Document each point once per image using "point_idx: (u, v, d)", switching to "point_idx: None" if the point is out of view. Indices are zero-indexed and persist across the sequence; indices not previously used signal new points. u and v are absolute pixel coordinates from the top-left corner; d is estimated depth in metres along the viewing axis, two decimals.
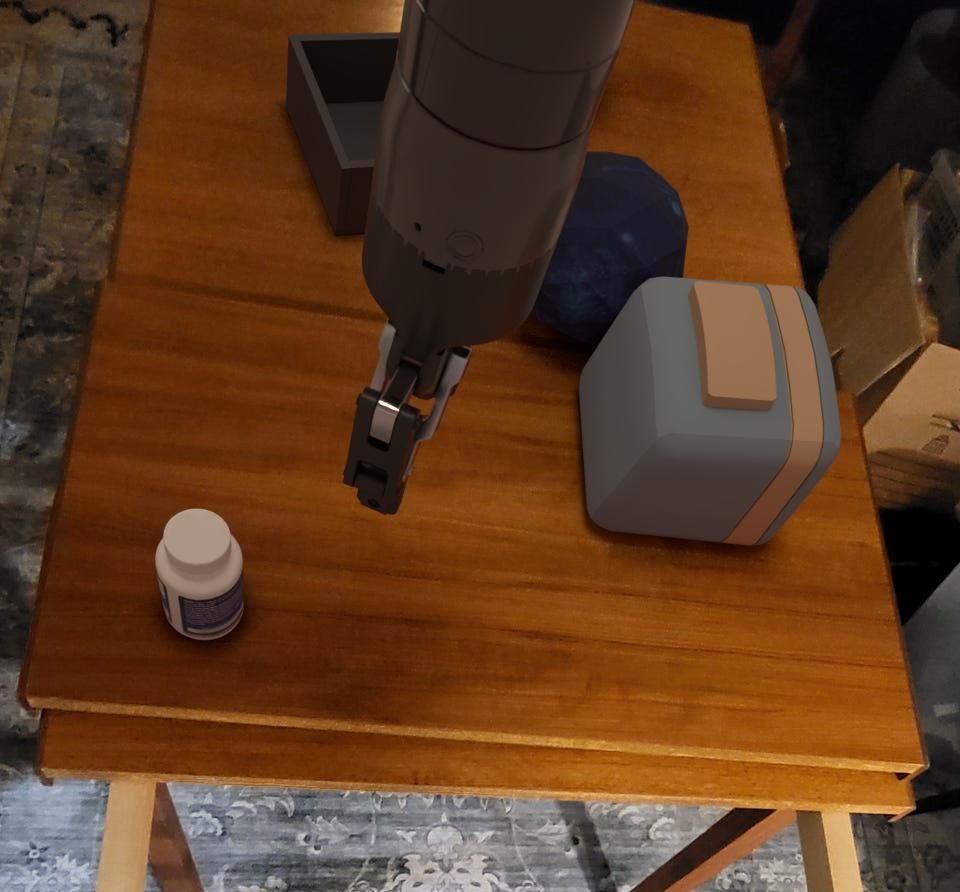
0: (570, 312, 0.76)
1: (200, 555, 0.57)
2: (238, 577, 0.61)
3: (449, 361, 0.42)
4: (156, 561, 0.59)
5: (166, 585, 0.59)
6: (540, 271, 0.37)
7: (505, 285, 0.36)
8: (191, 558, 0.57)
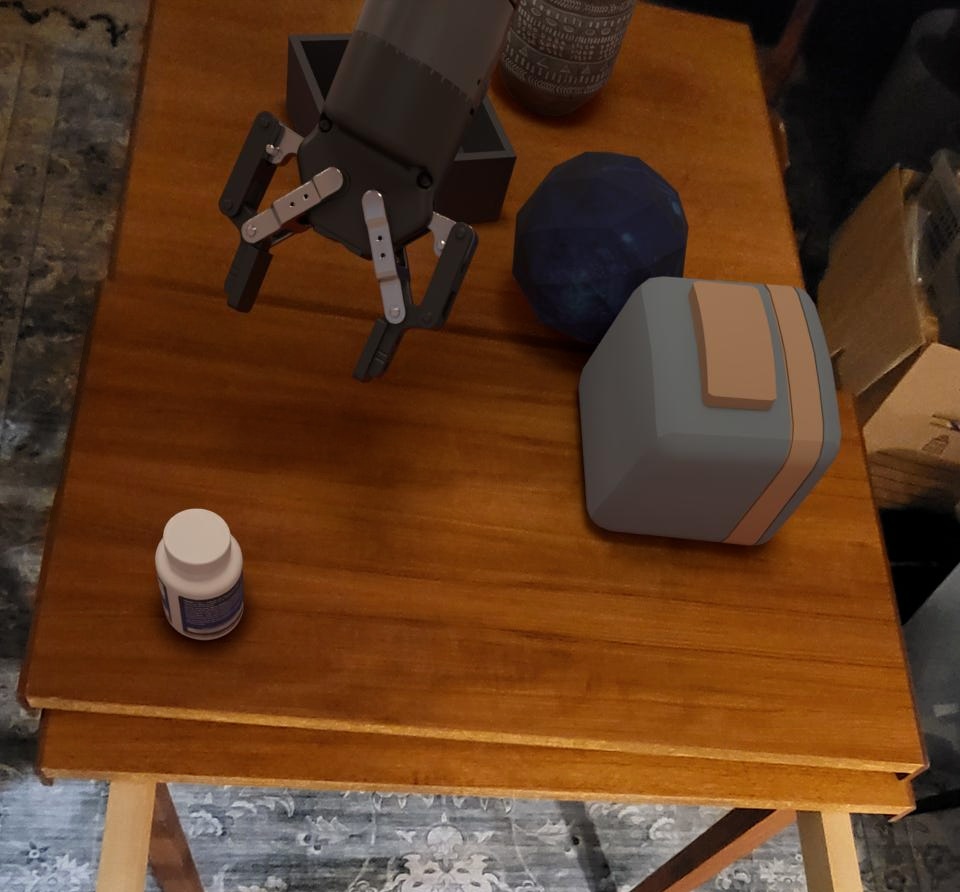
0: (570, 312, 0.76)
1: (200, 555, 0.57)
2: (238, 577, 0.61)
3: None
4: (156, 561, 0.59)
5: (166, 585, 0.59)
6: None
7: None
8: (191, 558, 0.57)
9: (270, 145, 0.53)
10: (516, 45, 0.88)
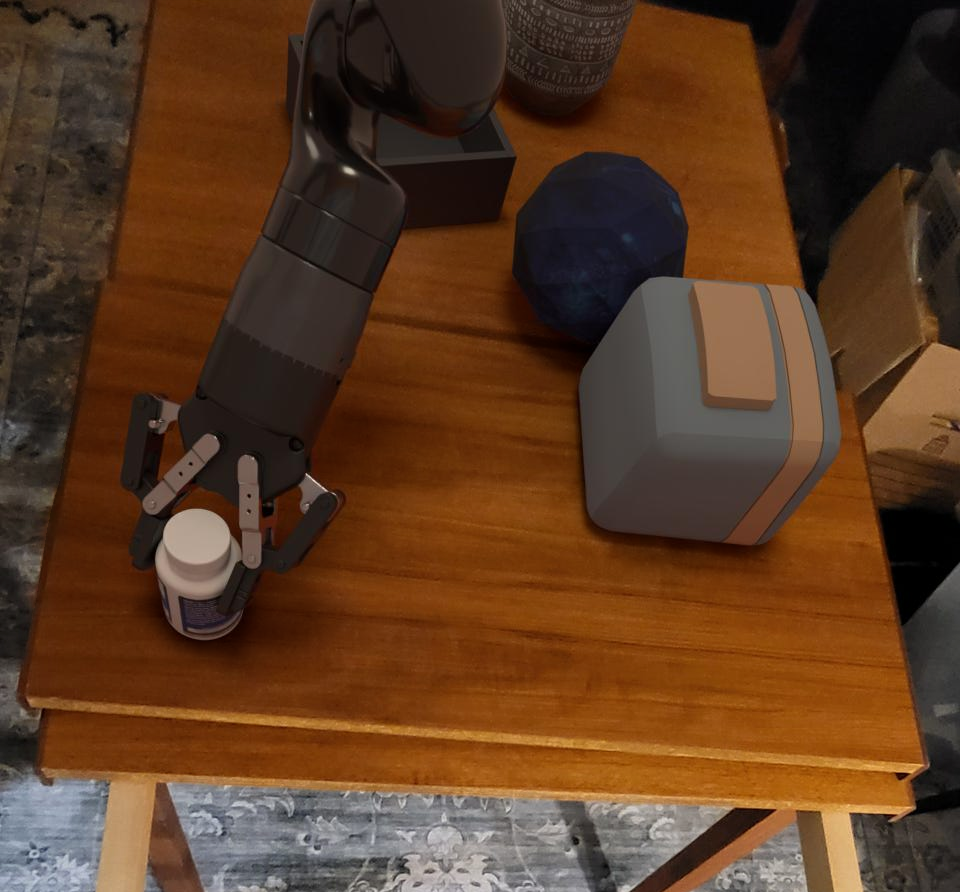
0: (570, 312, 0.76)
1: (200, 555, 0.57)
2: None
3: None
4: (156, 561, 0.59)
5: (166, 585, 0.59)
6: None
7: None
8: (191, 558, 0.57)
9: (152, 421, 0.56)
10: (516, 45, 0.88)
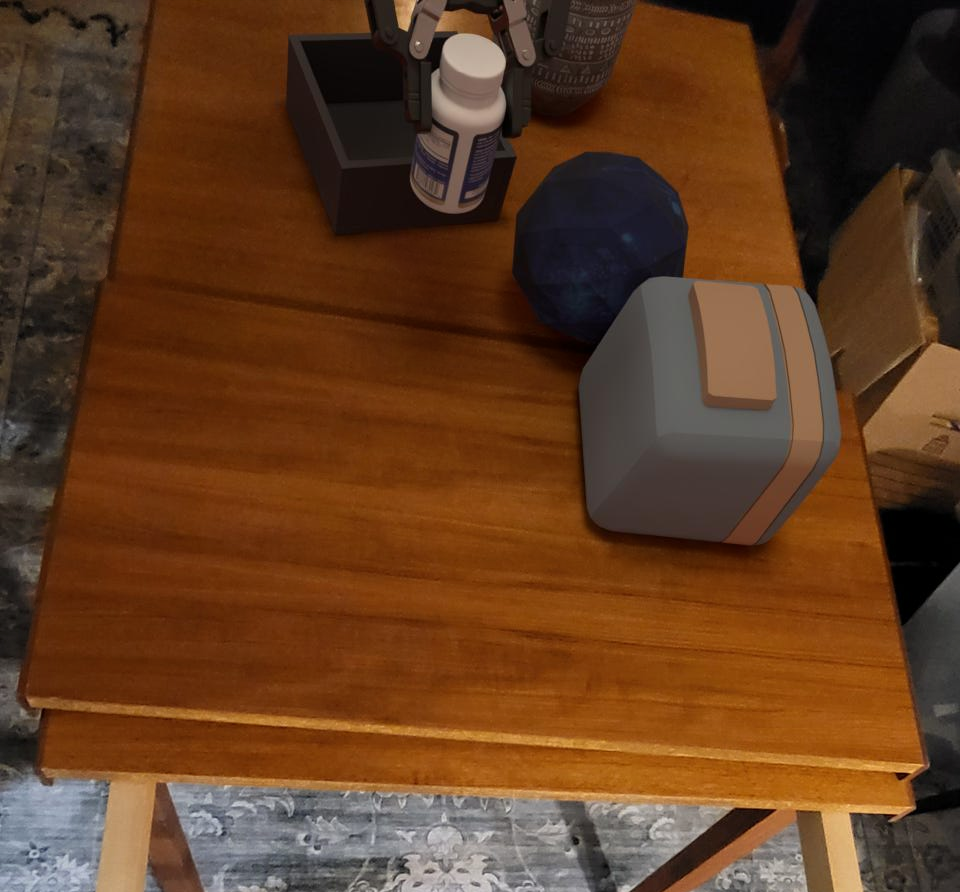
0: (570, 312, 0.76)
1: (492, 67, 0.58)
2: None
3: None
4: (440, 112, 0.60)
5: (461, 130, 0.60)
6: None
7: None
8: (488, 72, 0.58)
9: None
10: None
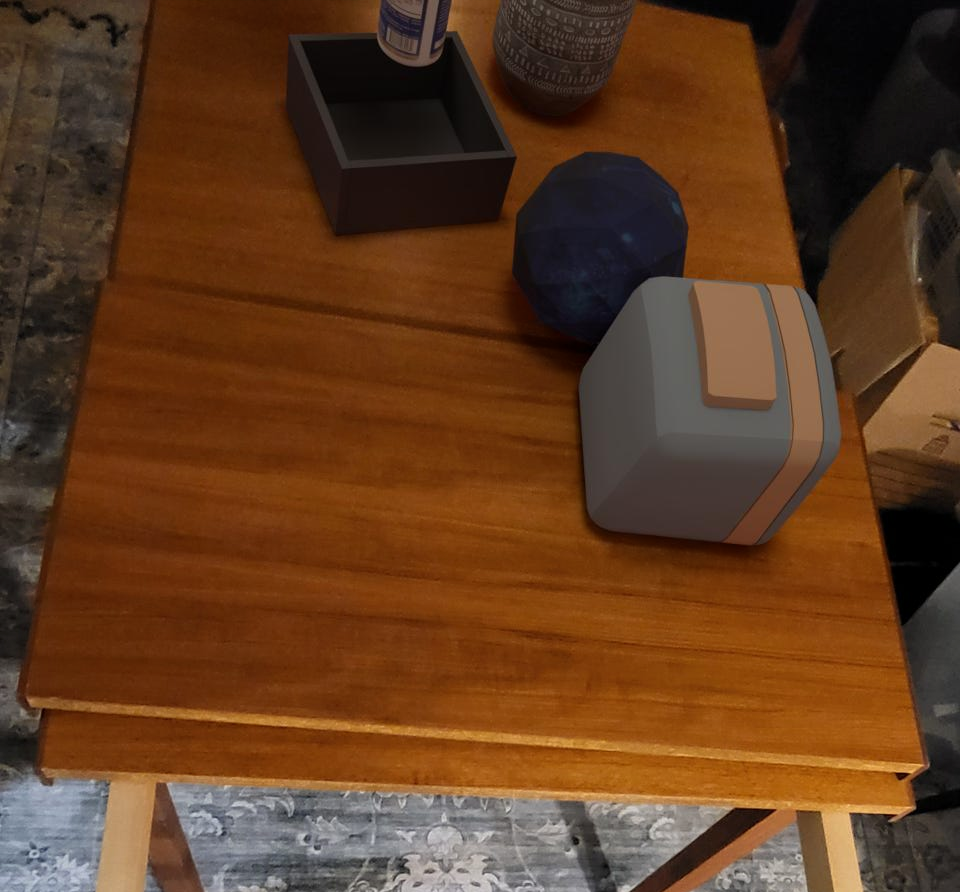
0: (570, 312, 0.76)
1: None
2: None
3: None
4: None
5: None
6: None
7: None
8: None
9: None
10: (516, 45, 0.88)
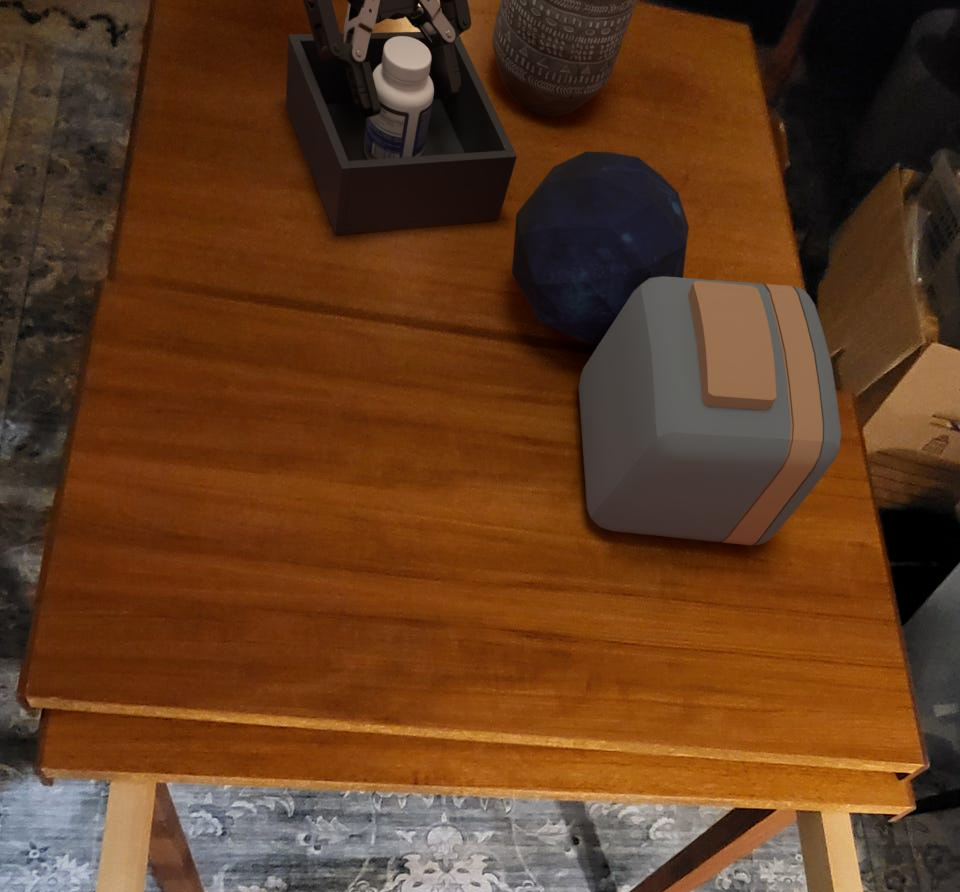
0: (570, 312, 0.76)
1: (424, 58, 0.78)
2: None
3: None
4: (393, 100, 0.79)
5: (410, 110, 0.80)
6: None
7: None
8: (423, 62, 0.78)
9: None
10: (516, 45, 0.88)
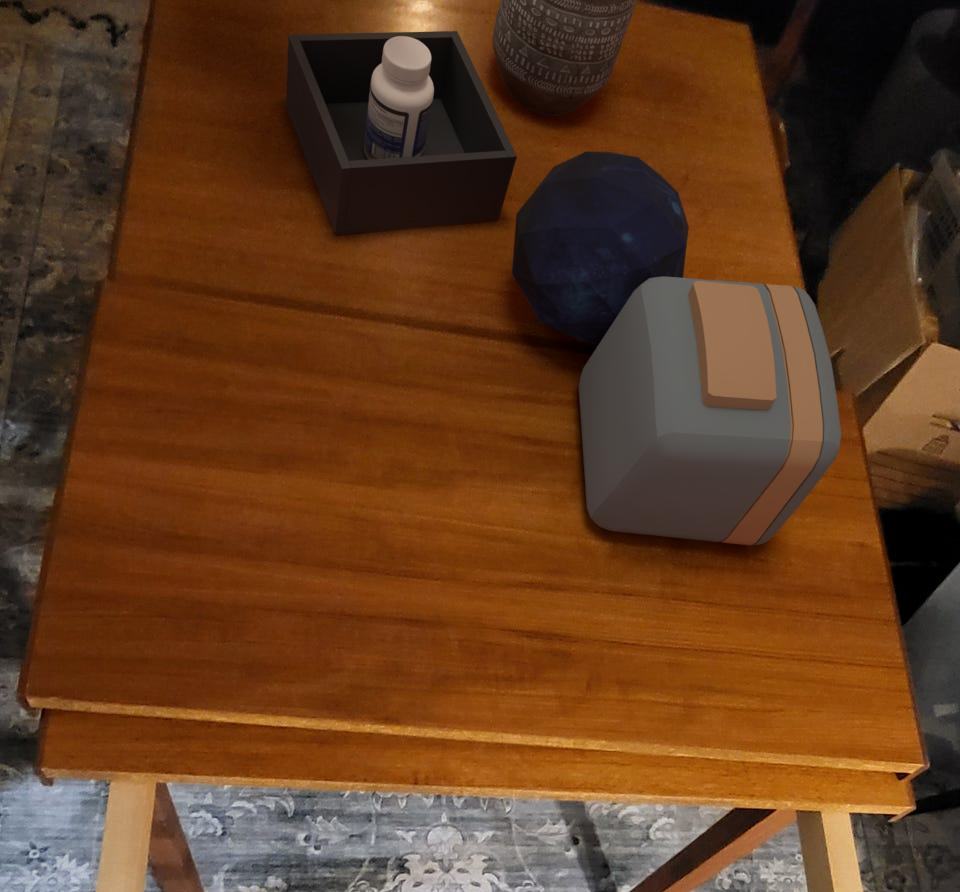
0: (570, 312, 0.76)
1: (423, 58, 0.78)
2: None
3: None
4: (393, 101, 0.79)
5: (410, 110, 0.80)
6: None
7: None
8: (423, 62, 0.78)
9: None
10: (516, 45, 0.88)
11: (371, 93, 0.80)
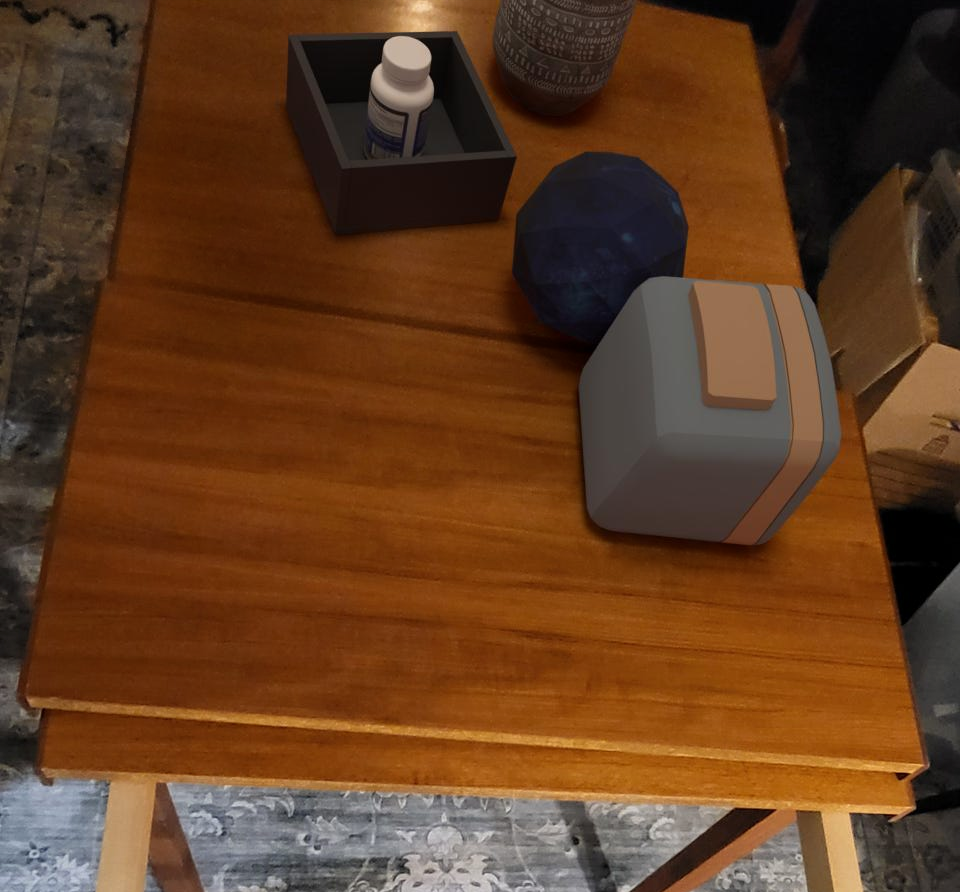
0: (570, 312, 0.76)
1: (423, 58, 0.78)
2: None
3: None
4: (392, 101, 0.79)
5: (410, 110, 0.80)
6: None
7: None
8: (423, 63, 0.78)
9: None
10: (516, 45, 0.88)
11: (371, 93, 0.80)
